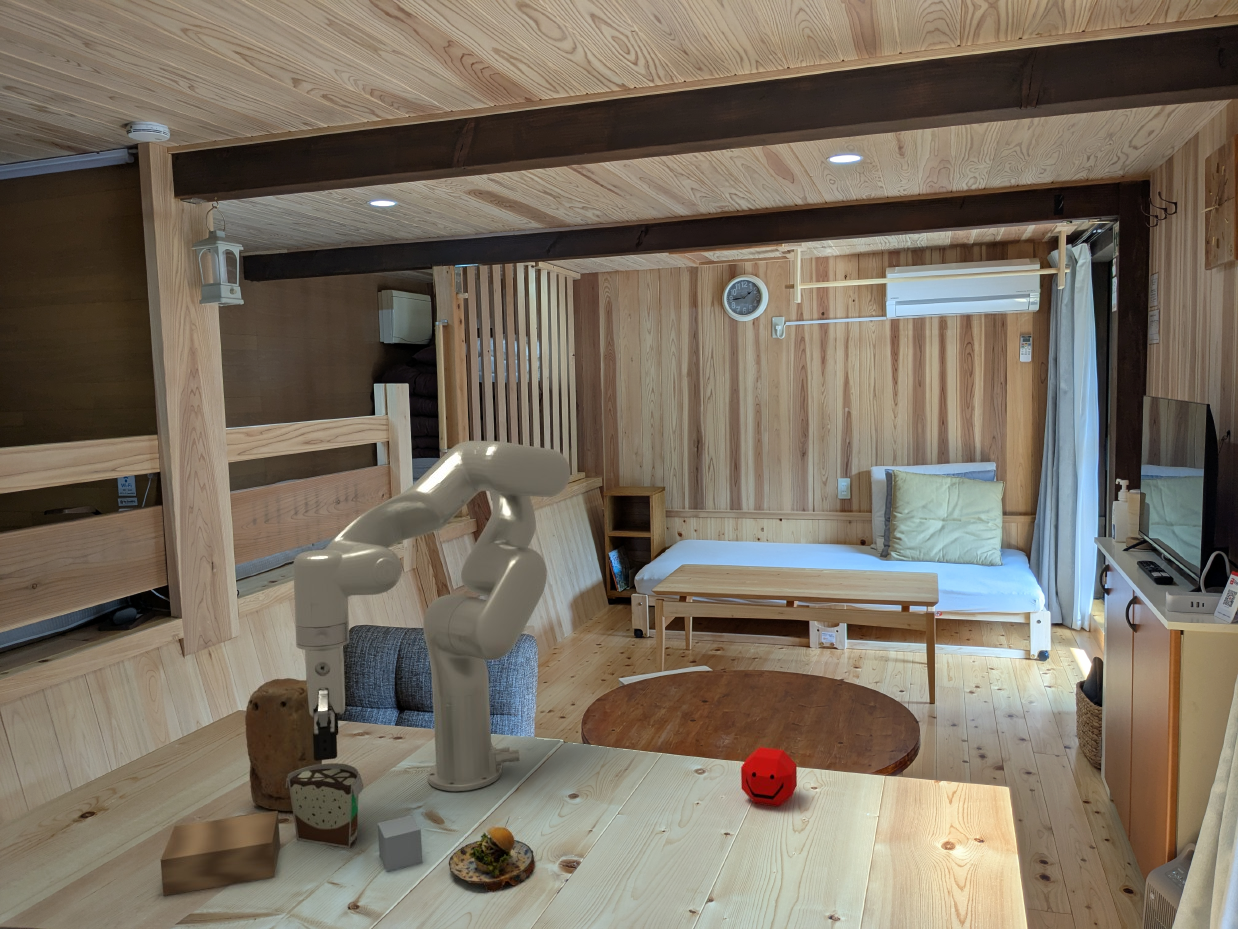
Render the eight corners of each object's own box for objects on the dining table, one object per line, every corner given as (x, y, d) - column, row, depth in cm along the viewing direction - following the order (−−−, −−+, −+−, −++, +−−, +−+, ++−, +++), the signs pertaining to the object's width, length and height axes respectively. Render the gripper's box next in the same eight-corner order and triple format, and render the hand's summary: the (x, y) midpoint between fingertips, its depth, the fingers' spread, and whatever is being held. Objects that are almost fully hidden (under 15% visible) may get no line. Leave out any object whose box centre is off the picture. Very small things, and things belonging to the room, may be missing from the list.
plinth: (280, 843, 135) (277, 810, 135) (274, 877, 126) (272, 842, 125) (177, 859, 131) (174, 826, 131) (163, 896, 122) (160, 860, 121)
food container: (382, 830, 138) (379, 766, 137) (358, 850, 133) (354, 783, 132) (315, 820, 142) (311, 758, 142) (288, 838, 137) (284, 774, 136)
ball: (738, 807, 142) (737, 760, 141) (750, 786, 149) (749, 740, 149) (789, 814, 139) (788, 766, 138) (799, 792, 146) (798, 746, 146)
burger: (458, 849, 132) (456, 800, 132) (539, 848, 132) (537, 798, 131) (440, 895, 120) (437, 841, 120) (528, 894, 120) (526, 839, 119)
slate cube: (414, 848, 133) (412, 815, 132) (422, 863, 128) (420, 829, 128) (379, 856, 131) (377, 823, 130) (386, 872, 126) (384, 838, 126)
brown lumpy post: (328, 795, 151) (321, 677, 149) (303, 816, 144) (295, 692, 142) (270, 791, 153) (262, 675, 152) (243, 811, 146) (234, 690, 145)
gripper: (348, 646, 127) (352, 765, 129) (349, 619, 144) (352, 725, 145) (292, 651, 125) (296, 772, 126) (299, 623, 142) (303, 730, 143)
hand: (326, 747), depth 136 cm, fingers open, 9 cm apart
